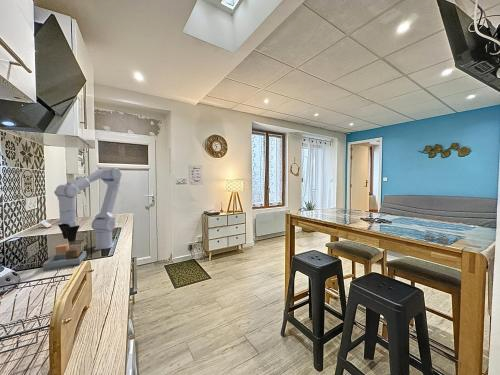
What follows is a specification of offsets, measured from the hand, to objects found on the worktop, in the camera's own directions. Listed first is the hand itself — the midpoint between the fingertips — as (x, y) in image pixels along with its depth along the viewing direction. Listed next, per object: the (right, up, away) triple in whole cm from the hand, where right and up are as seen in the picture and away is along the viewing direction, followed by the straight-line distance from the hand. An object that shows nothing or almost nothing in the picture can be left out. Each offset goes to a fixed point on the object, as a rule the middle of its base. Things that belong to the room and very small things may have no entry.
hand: (69, 239), depth 97 cm
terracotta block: (-9, -9, +6) cm, 14 cm away
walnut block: (+4, -9, -2) cm, 10 cm away
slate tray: (+2, -10, -3) cm, 10 cm away
